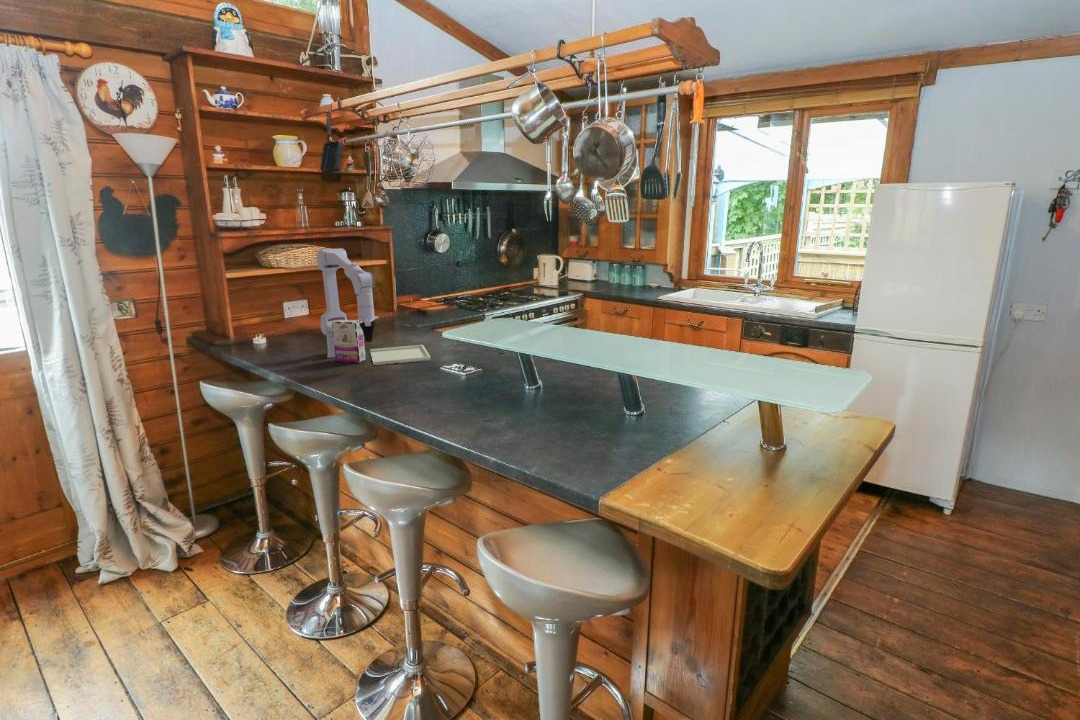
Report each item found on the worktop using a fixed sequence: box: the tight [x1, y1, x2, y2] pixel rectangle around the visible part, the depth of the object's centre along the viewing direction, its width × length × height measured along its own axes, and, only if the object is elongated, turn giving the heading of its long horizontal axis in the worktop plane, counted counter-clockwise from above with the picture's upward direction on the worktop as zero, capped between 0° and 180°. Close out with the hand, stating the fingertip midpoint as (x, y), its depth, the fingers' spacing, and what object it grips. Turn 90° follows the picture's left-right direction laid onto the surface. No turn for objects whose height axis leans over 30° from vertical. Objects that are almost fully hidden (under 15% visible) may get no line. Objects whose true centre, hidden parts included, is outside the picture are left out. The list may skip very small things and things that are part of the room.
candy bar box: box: [332, 319, 367, 364], centre depth 233 cm, size 11×5×16 cm, turn 73°
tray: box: [369, 344, 432, 366], centre depth 241 cm, size 22×22×2 cm
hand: (368, 341), depth 222 cm, fingers closed
